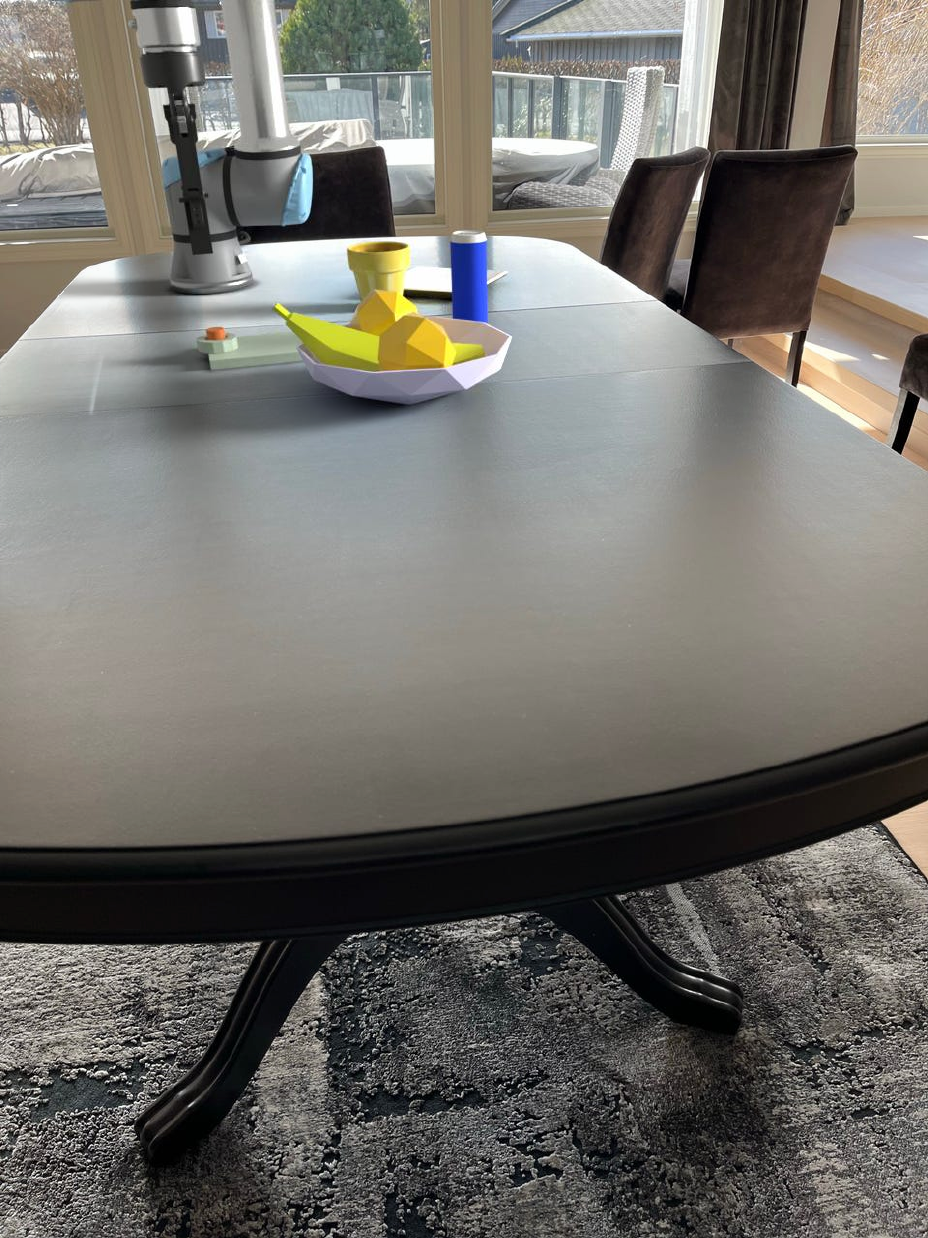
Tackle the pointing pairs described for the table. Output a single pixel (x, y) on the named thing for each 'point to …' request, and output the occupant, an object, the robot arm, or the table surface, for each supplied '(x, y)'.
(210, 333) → the button
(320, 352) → the fruit bowl
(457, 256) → the beverage can
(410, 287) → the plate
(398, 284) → the flower pot
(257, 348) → the pale green flat block
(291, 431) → the table surface
